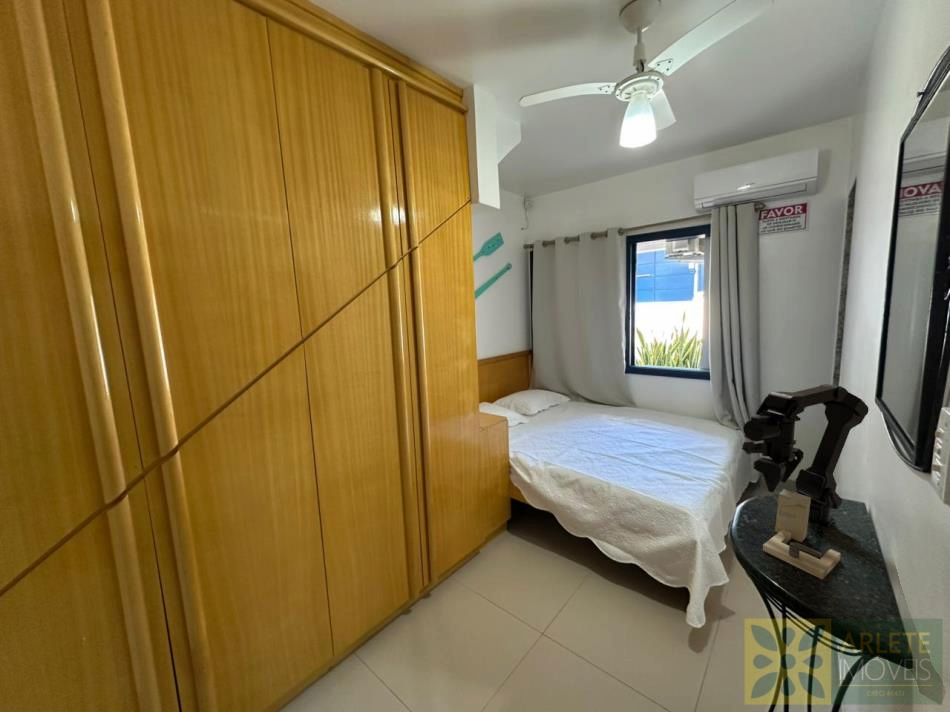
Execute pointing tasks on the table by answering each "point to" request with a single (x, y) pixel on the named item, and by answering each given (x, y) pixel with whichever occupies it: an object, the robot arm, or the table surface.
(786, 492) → the skincare box
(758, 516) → the table surface
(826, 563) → the beige c-shaped bracket
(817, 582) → the table surface
